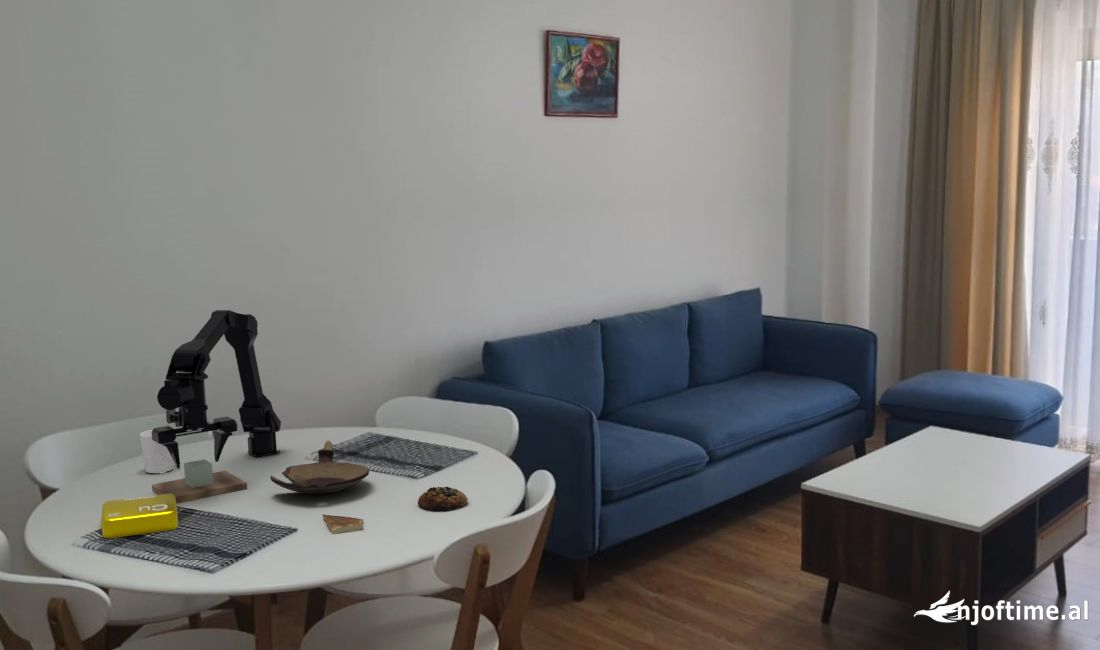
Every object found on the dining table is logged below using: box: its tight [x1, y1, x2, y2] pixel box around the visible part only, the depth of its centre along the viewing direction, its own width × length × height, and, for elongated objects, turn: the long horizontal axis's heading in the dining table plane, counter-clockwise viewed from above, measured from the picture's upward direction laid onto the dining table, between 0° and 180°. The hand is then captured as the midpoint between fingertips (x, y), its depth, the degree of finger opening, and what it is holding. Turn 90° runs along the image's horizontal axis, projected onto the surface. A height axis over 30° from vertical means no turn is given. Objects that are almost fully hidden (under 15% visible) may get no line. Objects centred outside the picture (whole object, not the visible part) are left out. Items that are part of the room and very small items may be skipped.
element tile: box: [100, 494, 179, 539], centre depth 229 cm, size 15×15×5 cm
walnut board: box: [151, 470, 248, 504], centre depth 253 cm, size 18×14×2 cm
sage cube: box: [183, 458, 214, 488], centre depth 252 cm, size 5×5×5 cm
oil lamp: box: [269, 439, 370, 495], centre depth 252 cm, size 22×30×8 cm
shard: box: [322, 513, 364, 535], centre depth 225 cm, size 11×8×2 cm
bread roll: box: [417, 486, 469, 513], centre depth 238 cm, size 11×11×5 cm
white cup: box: [139, 429, 174, 474], centre depth 270 cm, size 8×8×10 cm
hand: (197, 465), depth 252 cm, fingers open, 9 cm apart
